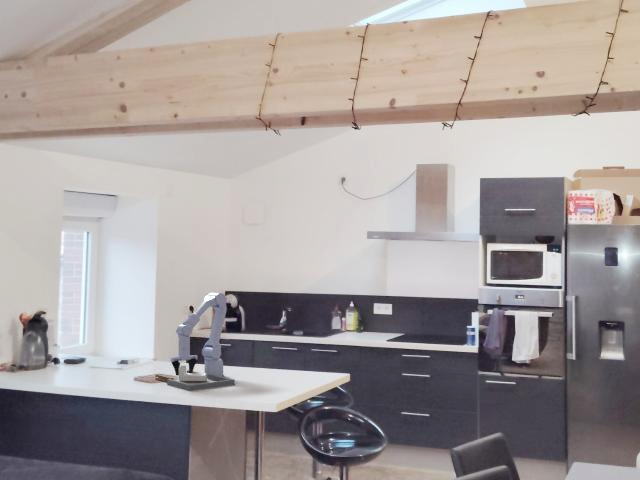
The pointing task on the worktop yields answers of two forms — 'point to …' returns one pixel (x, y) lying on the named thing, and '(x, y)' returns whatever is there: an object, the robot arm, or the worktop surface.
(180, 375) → the bracket
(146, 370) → the worktop surface
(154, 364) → the worktop surface
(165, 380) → the brown rectangular beams
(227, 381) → the gray u-shaped frame
